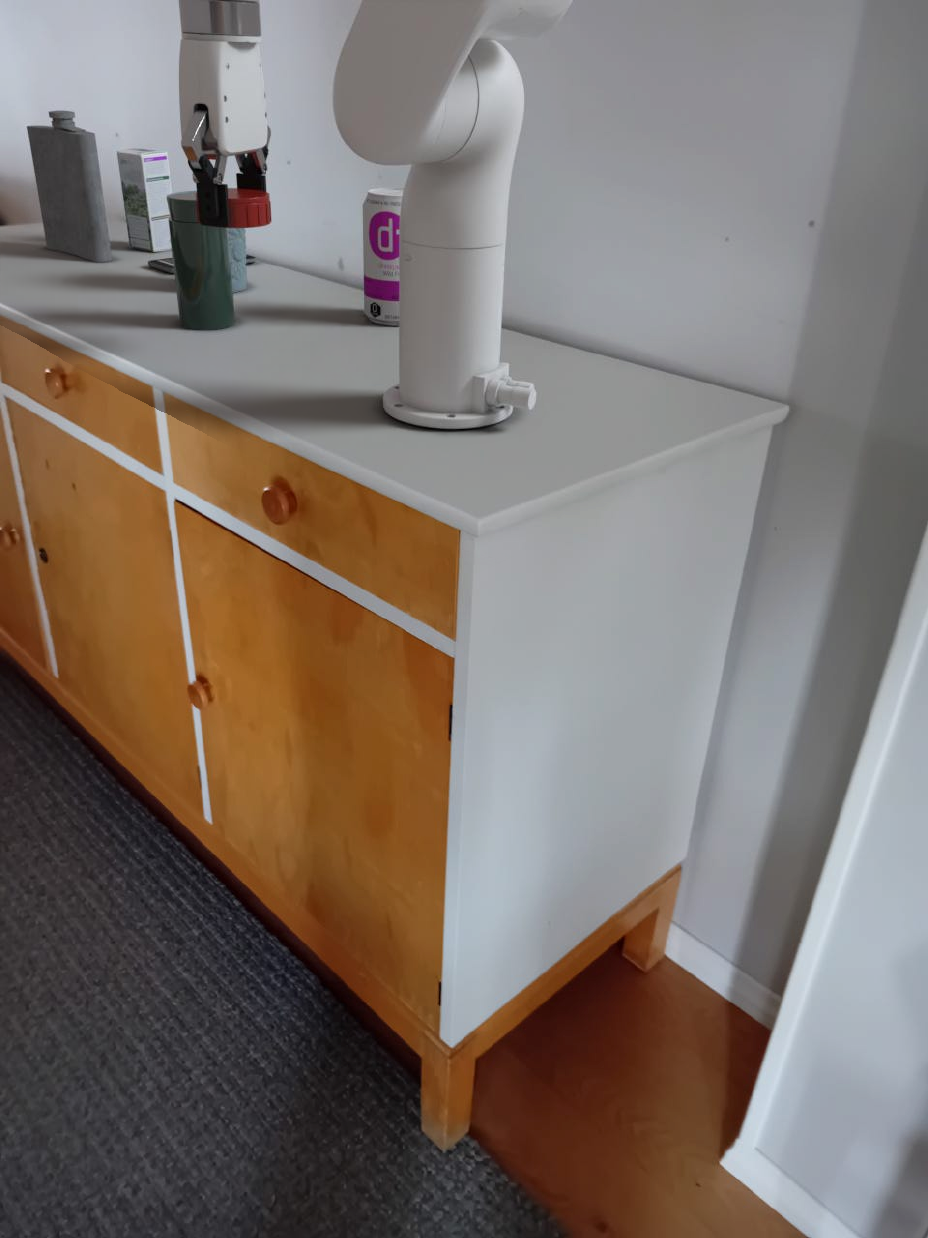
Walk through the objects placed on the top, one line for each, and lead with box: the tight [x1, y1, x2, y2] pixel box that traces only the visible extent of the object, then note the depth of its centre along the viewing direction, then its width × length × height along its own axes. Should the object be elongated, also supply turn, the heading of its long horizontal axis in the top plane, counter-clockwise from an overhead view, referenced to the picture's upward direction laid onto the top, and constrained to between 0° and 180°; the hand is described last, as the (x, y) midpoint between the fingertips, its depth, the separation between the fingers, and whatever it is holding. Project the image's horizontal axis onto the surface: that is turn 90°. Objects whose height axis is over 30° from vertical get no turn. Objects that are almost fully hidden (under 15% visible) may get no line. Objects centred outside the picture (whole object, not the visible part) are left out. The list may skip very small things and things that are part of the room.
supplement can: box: [362, 187, 404, 327], centre depth 123 cm, size 8×8×15 cm
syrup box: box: [116, 148, 173, 253], centre depth 158 cm, size 6×6×14 cm
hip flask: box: [26, 110, 113, 263], centre depth 151 cm, size 16×4×20 cm, turn 49°
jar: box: [168, 193, 236, 331], centre depth 118 cm, size 7×7×14 cm
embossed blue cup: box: [167, 190, 248, 293], centre depth 135 cm, size 10×10×12 cm
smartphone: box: [147, 254, 257, 274], centre depth 151 cm, size 7×1×15 cm
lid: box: [196, 187, 272, 229], centre depth 103 cm, size 8×8×3 cm
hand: (234, 218), depth 104 cm, fingers closed on lid, 7 cm apart
